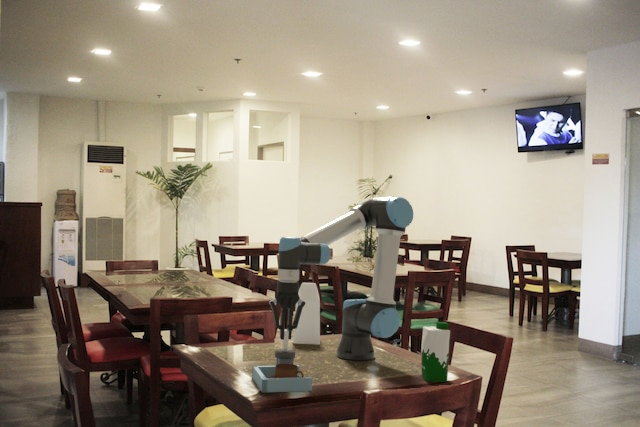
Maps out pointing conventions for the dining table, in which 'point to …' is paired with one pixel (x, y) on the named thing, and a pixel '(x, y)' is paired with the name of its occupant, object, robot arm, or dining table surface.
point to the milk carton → (435, 352)
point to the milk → (308, 316)
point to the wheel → (284, 354)
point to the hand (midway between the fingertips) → (285, 348)
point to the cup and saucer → (286, 371)
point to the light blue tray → (279, 379)
